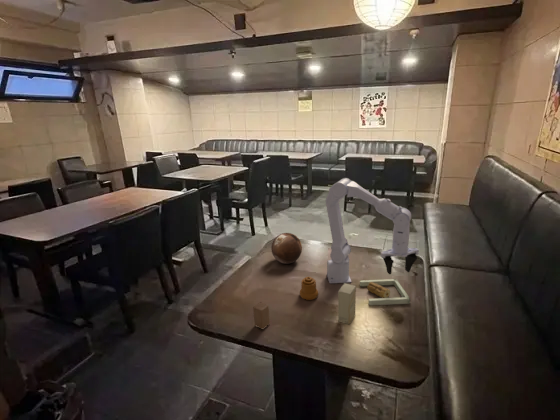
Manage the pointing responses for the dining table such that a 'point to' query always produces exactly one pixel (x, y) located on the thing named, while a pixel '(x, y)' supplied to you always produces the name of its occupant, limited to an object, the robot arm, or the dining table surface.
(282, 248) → the wooden sphere
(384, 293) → the carved stone cylinder
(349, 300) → the skincare box
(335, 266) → the robot arm
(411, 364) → the dining table surface
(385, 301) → the pale grey flat frame
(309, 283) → the ornamental finial
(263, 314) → the wooden block
